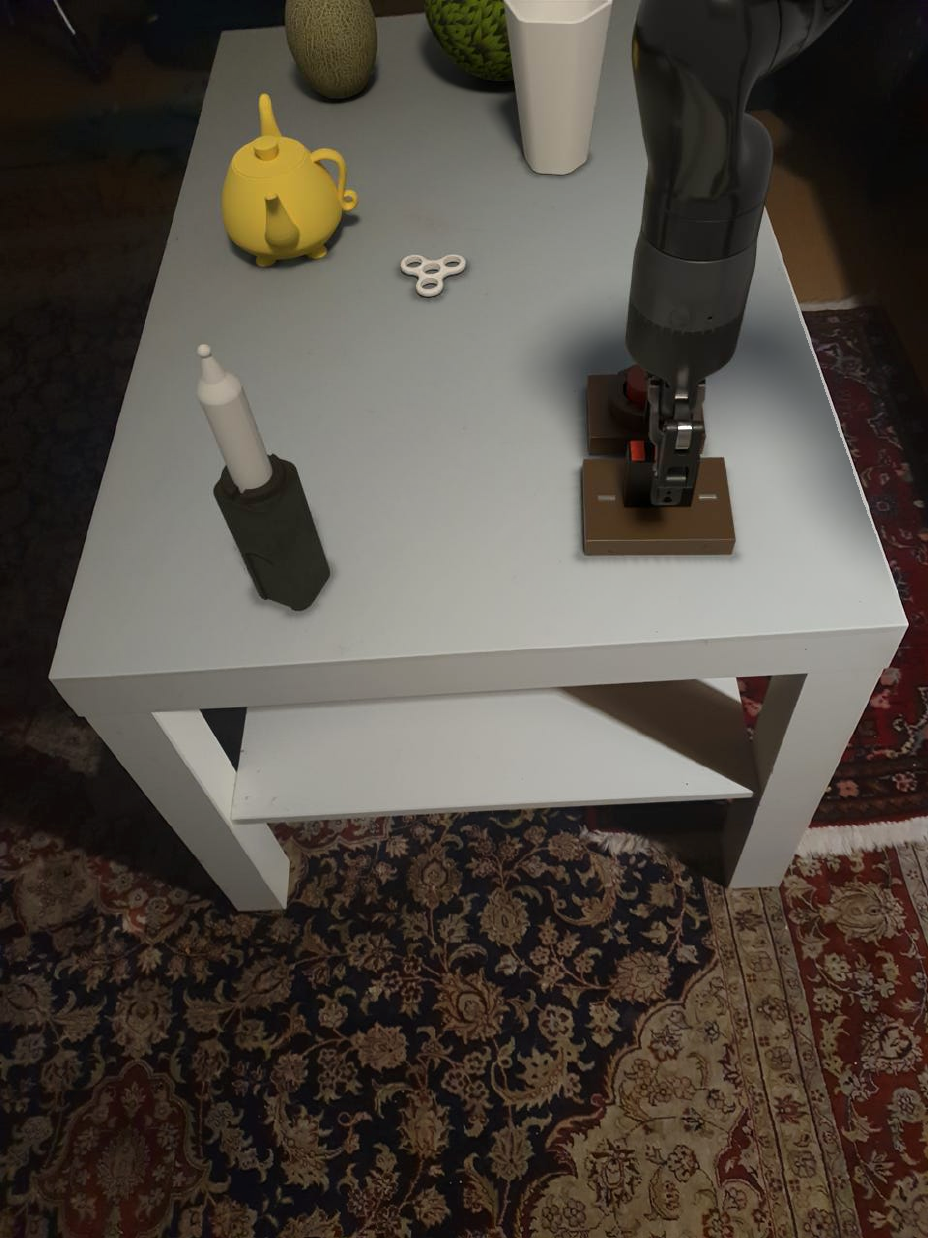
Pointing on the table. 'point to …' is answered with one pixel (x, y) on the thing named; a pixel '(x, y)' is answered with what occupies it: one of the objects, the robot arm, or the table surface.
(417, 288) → the fidget spinner
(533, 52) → the cup
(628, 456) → the thumbturn
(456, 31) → the decorative ball
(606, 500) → the plate
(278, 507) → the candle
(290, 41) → the fruit
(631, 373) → the button
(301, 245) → the teapot
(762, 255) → the table surface
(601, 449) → the block
